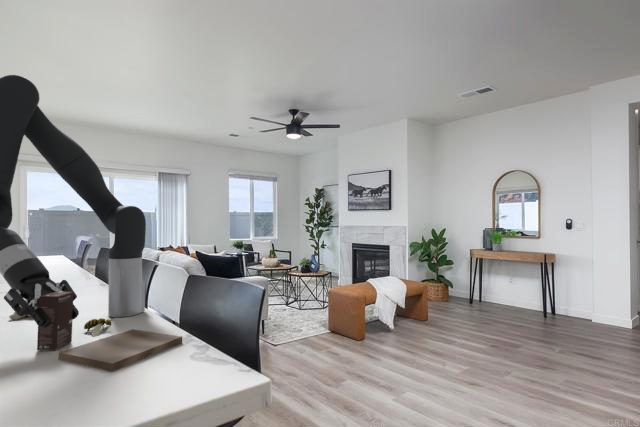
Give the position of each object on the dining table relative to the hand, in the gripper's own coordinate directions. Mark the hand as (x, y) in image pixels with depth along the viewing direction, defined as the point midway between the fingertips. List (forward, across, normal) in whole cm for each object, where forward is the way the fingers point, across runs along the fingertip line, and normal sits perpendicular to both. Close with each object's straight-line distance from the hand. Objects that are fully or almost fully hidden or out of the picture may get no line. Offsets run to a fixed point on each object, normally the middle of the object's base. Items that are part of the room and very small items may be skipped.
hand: (61, 320), depth 86 cm
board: (+15, +1, -7) cm, 17 cm away
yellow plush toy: (-20, +23, +29) cm, 42 cm away
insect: (+3, +13, +6) cm, 15 cm away
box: (+3, 0, +6) cm, 6 cm away
